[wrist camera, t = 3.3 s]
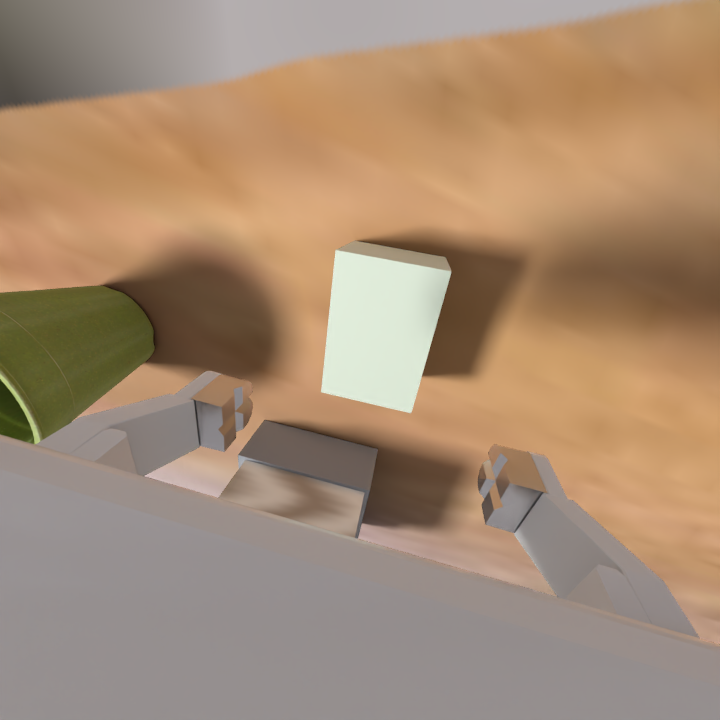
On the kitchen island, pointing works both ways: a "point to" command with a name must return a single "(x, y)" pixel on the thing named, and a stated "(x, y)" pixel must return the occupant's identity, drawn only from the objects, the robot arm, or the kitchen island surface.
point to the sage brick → (382, 322)
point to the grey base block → (313, 457)
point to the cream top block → (296, 497)
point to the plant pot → (64, 354)
